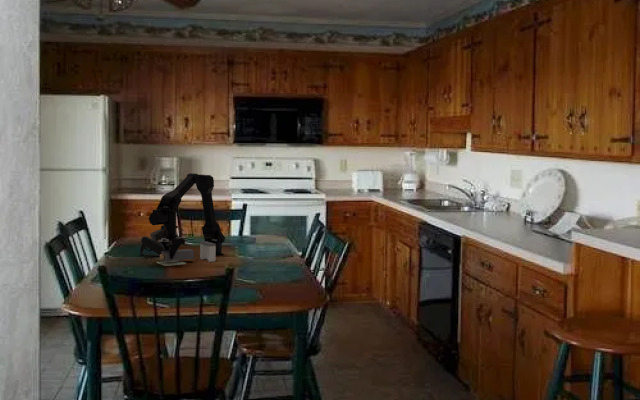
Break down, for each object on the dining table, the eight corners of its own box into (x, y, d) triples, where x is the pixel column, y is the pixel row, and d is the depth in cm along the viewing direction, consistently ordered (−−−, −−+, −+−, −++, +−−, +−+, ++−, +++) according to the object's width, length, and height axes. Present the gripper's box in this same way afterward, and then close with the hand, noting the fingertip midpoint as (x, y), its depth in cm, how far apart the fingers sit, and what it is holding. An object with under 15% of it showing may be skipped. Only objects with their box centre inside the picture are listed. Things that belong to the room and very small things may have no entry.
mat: (176, 260, 321) (176, 260, 321) (186, 264, 314) (186, 263, 314) (156, 262, 315) (156, 261, 315) (165, 266, 308) (165, 265, 308)
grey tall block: (189, 257, 322) (189, 249, 322) (193, 258, 319) (193, 250, 319) (158, 260, 313) (158, 251, 312) (162, 261, 310) (163, 252, 309)
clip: (205, 258, 331) (206, 241, 330) (215, 261, 324) (215, 243, 323) (200, 258, 329) (200, 241, 328) (209, 261, 322) (209, 244, 321)
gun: (162, 269, 330) (172, 251, 328) (134, 251, 332) (143, 233, 330) (165, 268, 332) (174, 250, 331) (137, 250, 335) (146, 232, 333)
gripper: (143, 221, 315) (143, 256, 316) (162, 226, 300) (161, 262, 301) (166, 220, 322) (166, 254, 323) (185, 225, 307) (185, 260, 308)
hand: (169, 258), depth 314 cm, fingers closed on grey tall block, 4 cm apart
